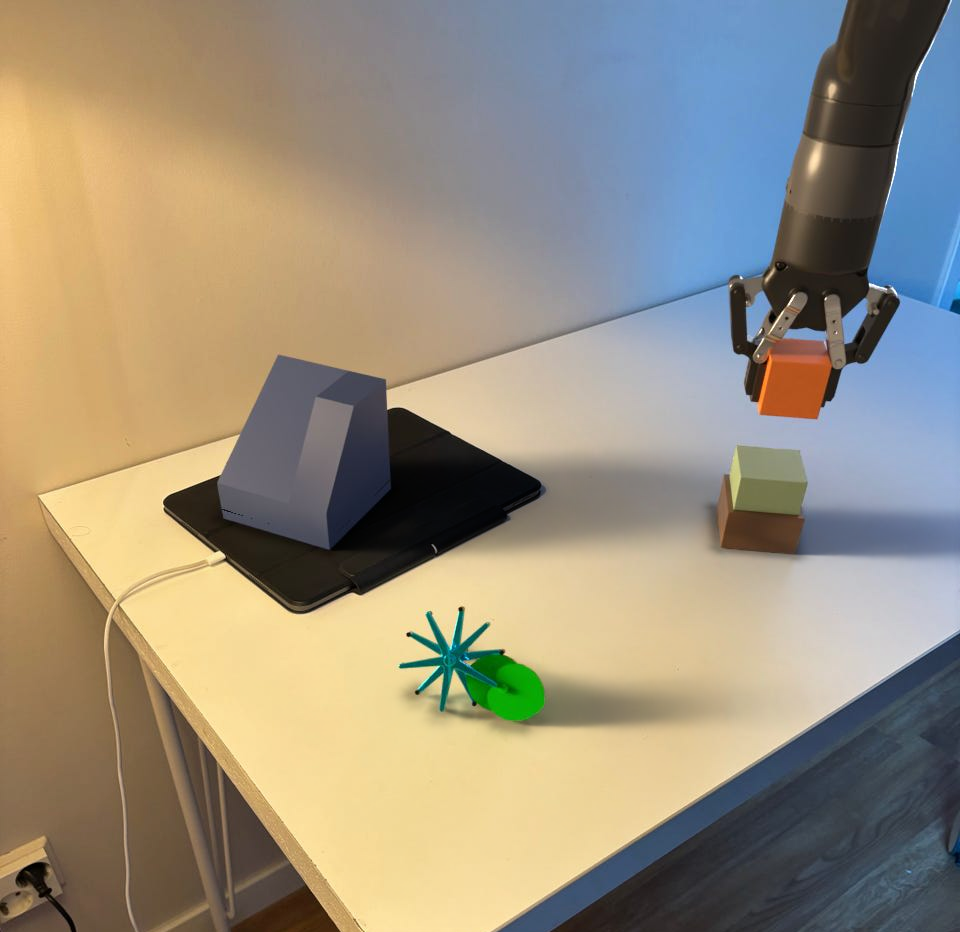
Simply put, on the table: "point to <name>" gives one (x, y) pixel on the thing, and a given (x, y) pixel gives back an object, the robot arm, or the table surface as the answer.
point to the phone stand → (309, 453)
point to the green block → (767, 480)
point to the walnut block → (756, 526)
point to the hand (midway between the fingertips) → (786, 400)
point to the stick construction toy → (481, 673)
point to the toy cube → (795, 379)
